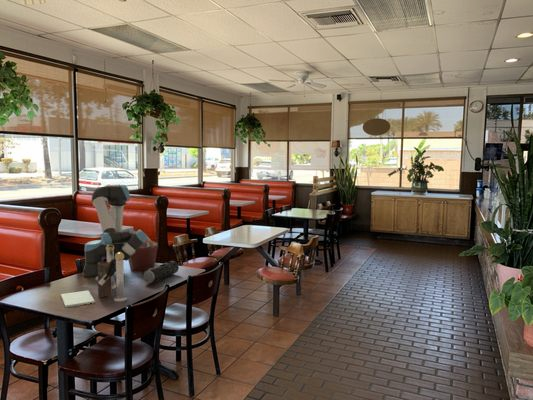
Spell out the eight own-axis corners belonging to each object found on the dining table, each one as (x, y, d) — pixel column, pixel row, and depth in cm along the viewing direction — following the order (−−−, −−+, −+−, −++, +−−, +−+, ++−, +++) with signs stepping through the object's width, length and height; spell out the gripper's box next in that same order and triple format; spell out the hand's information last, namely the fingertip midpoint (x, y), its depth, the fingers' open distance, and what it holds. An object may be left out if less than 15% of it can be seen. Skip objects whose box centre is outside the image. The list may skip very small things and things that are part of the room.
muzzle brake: (179, 275, 295) (179, 261, 294) (154, 286, 269) (154, 270, 268) (167, 273, 299) (167, 259, 298) (142, 284, 273) (142, 268, 272)
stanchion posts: (115, 302, 237) (114, 254, 235) (103, 287, 265) (102, 243, 262) (128, 300, 241) (127, 252, 238) (115, 285, 269) (114, 242, 266)
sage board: (65, 307, 229) (65, 305, 229) (60, 296, 247) (60, 294, 247) (94, 303, 237) (94, 300, 237) (88, 292, 255) (88, 290, 255)
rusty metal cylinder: (100, 293, 253) (99, 260, 251) (113, 293, 254) (112, 260, 252) (96, 297, 246) (95, 264, 244) (109, 297, 246) (108, 263, 244)
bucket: (122, 267, 313) (122, 234, 310) (151, 263, 326) (150, 231, 324) (134, 275, 293) (134, 240, 291) (164, 270, 307) (164, 236, 304)
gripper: (135, 259, 247) (106, 290, 240) (126, 252, 264) (100, 281, 258) (125, 251, 244) (96, 282, 237) (117, 245, 261) (90, 274, 254)
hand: (98, 282), depth 247 cm, fingers open, 8 cm apart
